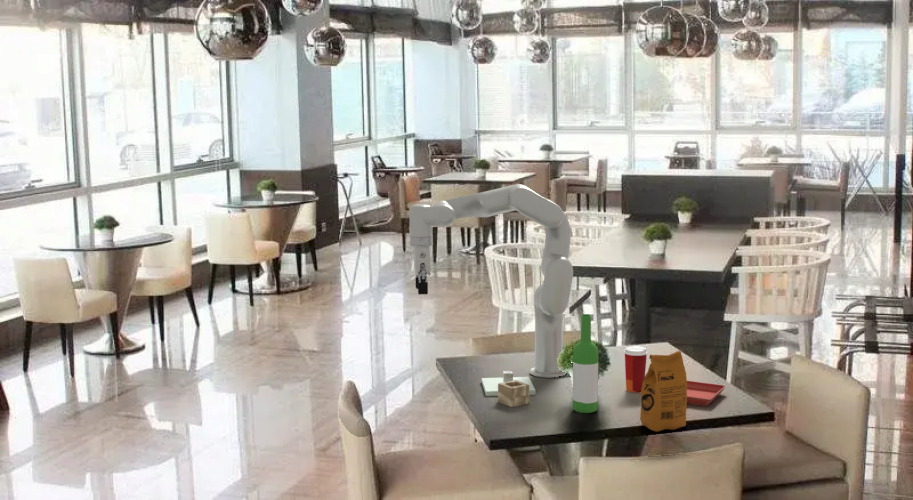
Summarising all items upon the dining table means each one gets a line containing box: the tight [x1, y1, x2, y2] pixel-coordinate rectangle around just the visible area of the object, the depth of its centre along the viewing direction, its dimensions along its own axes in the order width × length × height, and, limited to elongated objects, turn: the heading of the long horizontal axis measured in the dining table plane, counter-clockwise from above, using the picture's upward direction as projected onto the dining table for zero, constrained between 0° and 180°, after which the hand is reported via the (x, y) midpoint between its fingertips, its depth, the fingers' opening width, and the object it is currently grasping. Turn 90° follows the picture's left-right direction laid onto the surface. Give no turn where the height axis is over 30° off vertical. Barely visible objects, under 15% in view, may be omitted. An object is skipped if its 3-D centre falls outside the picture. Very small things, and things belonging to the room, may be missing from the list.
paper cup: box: [623, 345, 648, 394], centre depth 365 cm, size 8×8×14 cm
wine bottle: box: [572, 313, 599, 414], centre depth 343 cm, size 8×8×30 cm
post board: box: [481, 370, 536, 397], centre depth 369 cm, size 16×16×6 cm
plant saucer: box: [687, 380, 726, 407], centre depth 358 cm, size 18×18×3 cm
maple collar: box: [497, 380, 530, 408], centre depth 353 cm, size 7×7×6 cm
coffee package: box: [639, 350, 688, 432], centre depth 328 cm, size 10×12×22 cm
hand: (421, 291), depth 378 cm, fingers open, 9 cm apart
